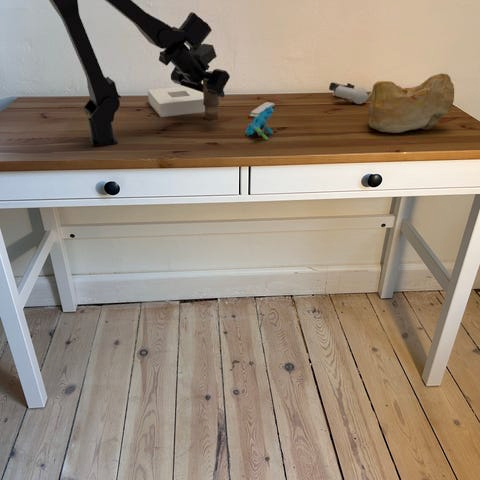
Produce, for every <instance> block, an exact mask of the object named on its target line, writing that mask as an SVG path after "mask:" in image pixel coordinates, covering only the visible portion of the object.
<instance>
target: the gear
mask: <svg viewBox="0 0 480 480" xmlns="http://www.w3.org/2000/svg"><path fill="white" fill-rule="evenodd" d="M274 111H275V110H274V108H272V107H271V106H270V107H269V108H268V107H267V108H266V109H265V110H264V111H261V112H260V113H259V116H258V117H255V118H254V119H252V121H253V122H252V123H251V122H250V123H249V124H248V125H247V128H246V130H245V131H244V132H245V134H246V135H247V136H248V137H249V136H250V135H251V136H252V135H253V134H254V133H255V132H257V133H256V134H257V135H258V136H259V137H260V136H262V138H263V139H264V140H265V141H268V140H269V138H268V136H267V135H266V134H265V133H264V132H265V131H266V132H267V133H268V134H269V135H273V133H274V131H272V130H271V129H270V127H268V126H267V121H266V120H269V119H270V118H271V117H272V113H273V112H274Z"/></svg>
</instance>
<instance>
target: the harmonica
mask: <svg viewBox="0 0 480 480" xmlns="http://www.w3.org/2000/svg"><path fill="white" fill-rule="evenodd" d="M270 106H271V107H272V108H273V109H275V108H276V107H277V103H274V102H268V101H266V102H264V103H262V104H261V105H259V106H257V107H256V108H254V109H253V110H252V111H251V112H250V114H249V115H247V116H248V117H247V119H250V120H253V119H254V118H255V117H258V116H259V113H260V112H261V111H264V110H265V109H266V108H267V107H268V108H269V107H270Z"/></svg>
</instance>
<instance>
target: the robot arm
mask: <svg viewBox="0 0 480 480" xmlns="http://www.w3.org/2000/svg"><path fill="white" fill-rule="evenodd" d="M48 1H49V3H50V4H51V6H52V7H53V8H54V10H55V12H56V13H57V15H58V16H59V18H60V19H61V21H62V22H63V26H64V28H65V31H66V32H67V34H68V37H69V40H70V42H71V44H72V47H73V49H74V52H75V54H76V56H77V58H78V61H79V63H80V65H81V67H82V68H81V69H82V70H83V72H84V76H85V77H86V83H87V90H88V95H89V100H87V102H86V103H85V105H84V106H83V109H82V110H83V111H84V113H85V114H86V116H88V126H89V132H90V136H89V137H88V138H89V141H90V144H91V147H100V146H101V147H102V146H109V145H115V144H118V142H119V141H118V139H117V138H116V135H115V134H114V128H113V122H114V120H115V115H116V114H115V113H116V112H118V110H119V107H120V105H121V103H120V99H121V95H120V94H119V92H118V90H117V85H116V82H115V81H114V80H112V79H111V78H110V77H109V76H106V77H105V76H104V73H103V70H102V69H101V65H100V63H99V61H98V58H97V56H96V53H95V51H94V48H93V46H92V43H91V40H90V39H89V36H88V33H87V30H86V28H85V26H84V23H83V21H82V19H81V15H80V9H79V2H78V0H48ZM104 1H106V3H108V4H109V5H110V6H111V7H112V8H114V9H116V11H118V12H119V13H120V14H122V16H124V17H125V18H126V19H128V20H129V21H130V22H131V23H133V24H134V26H135V27H136V28H137V29H138V31H139V32H140V34H142V36H143V37H144V38H145V39H146V40H147V41H148V43H150V44H151V45H153V46H155V47H157V48H159V49H163V50H162V51H159V57H158V61H159V62H160V63H161V64H163V65H165V66H168V65H169V64H170V63H171V64H172V65H173V66H174V68H173V70H172V71H171V73H170V80H171V81H172V82H173V83H174V84H176V85H180V87H184V86H185V87H188V88H191V89H194V90H197V91H200V92H202V93H203V81H207V83H206V88H207V90H208V92H209V93H211V94H214V95H216V96H219V98H222V99H223V98H224V97H225V95H226V94H225V91H224V89H225V87H226V85H227V84H228V81H229V80H230V77H231V75H230V74H229V72H228V71H227V70H225V69H224V70H223V69H219V68H215V69H213V70H212V71H213V72H212V73H209V72H207V71H209V68H210V65H209V64H210V63H211V62H212V61H213V60H214V59H216V58H217V56H218V55H217V53H216V50H215V47H214V45H213V44H208V43H203V42H204V41H205V40H206V38H207V37H208V36H209V34H210V33H211V32H212V31H213V29H212V28H211V26H210V25H209V24H208V22H206V21H204V19H202V18H201V17H199V16H198V15H197V14H196V13H195V12H193V11H191V12H190V13H189V14H188V15H187V17H186V19H185V20H184V21H183V23H182V24H181V25H180V26H179V28H178V27H176V26H171V25H169V24H168V23H166V22H164V21H162V20H161V19H158V18H156V17H155V16H153V15H151V14H150V13H148V12H146V11H145V10H144V9H142V8H141V7H140V6H139V5H138V4H137V3H135V2H134V1H133V0H104Z"/></svg>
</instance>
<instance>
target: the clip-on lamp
mask: <svg viewBox="0 0 480 480" xmlns="http://www.w3.org/2000/svg"><path fill="white" fill-rule="evenodd" d="M328 90H329V91H332V92H333V93H332V96H336V97H339V98H344V99H348V100H351V101H352V102H353V103H355V105H362V104H364V102H366V101H367V100H368V98H370V97H371V96H372V91H373V88H372V89H371V92H370V93H369V94H368V93H367V90H366V89H365V88H363V87H356V88H355V85H354V84H352V83H349V82H348V83H347V84H341V83H337V82H331V83H330V84H329V88H328Z"/></svg>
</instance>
